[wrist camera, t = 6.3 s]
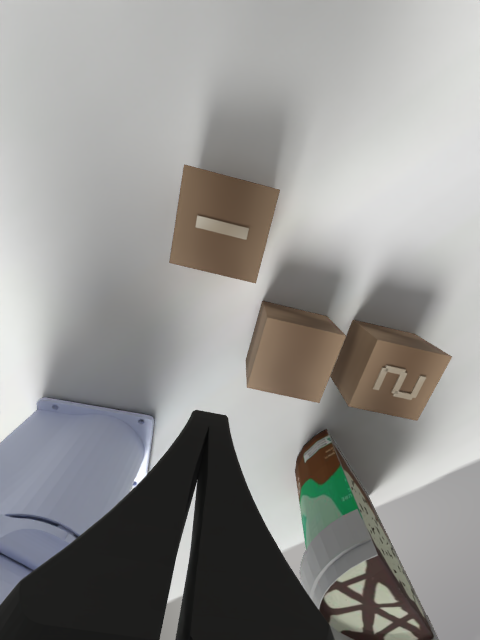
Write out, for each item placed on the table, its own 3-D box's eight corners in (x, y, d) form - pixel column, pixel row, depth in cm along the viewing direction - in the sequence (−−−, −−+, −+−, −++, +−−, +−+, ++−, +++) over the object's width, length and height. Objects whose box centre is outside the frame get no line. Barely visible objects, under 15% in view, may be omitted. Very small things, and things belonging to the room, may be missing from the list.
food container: (256, 446, 24) (267, 588, 15) (318, 416, 23) (373, 548, 14) (318, 528, 27) (358, 686, 18) (374, 505, 26) (449, 660, 17)
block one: (183, 255, 19) (168, 263, 15) (196, 178, 17) (183, 164, 13) (252, 272, 19) (255, 283, 15) (271, 198, 18) (280, 189, 14)
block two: (330, 375, 22) (349, 407, 18) (352, 318, 20) (378, 340, 16) (387, 388, 22) (418, 421, 18) (413, 333, 21) (453, 357, 17)
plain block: (245, 359, 21) (247, 387, 18) (262, 300, 20) (267, 317, 16) (305, 372, 22) (319, 402, 18) (326, 315, 20) (346, 335, 16)
